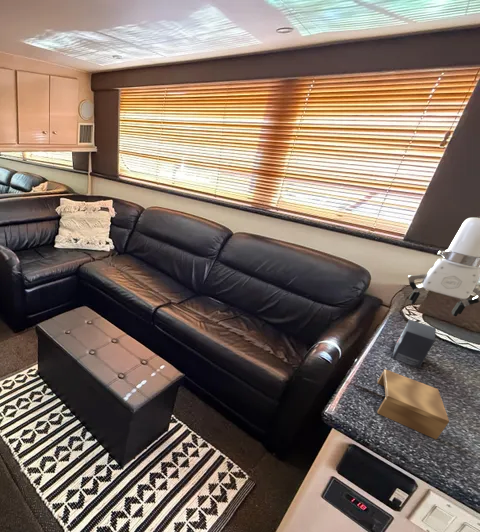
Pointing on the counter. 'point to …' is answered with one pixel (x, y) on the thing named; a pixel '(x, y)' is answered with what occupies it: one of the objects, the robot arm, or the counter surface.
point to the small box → (414, 343)
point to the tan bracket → (413, 404)
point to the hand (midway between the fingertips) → (432, 308)
